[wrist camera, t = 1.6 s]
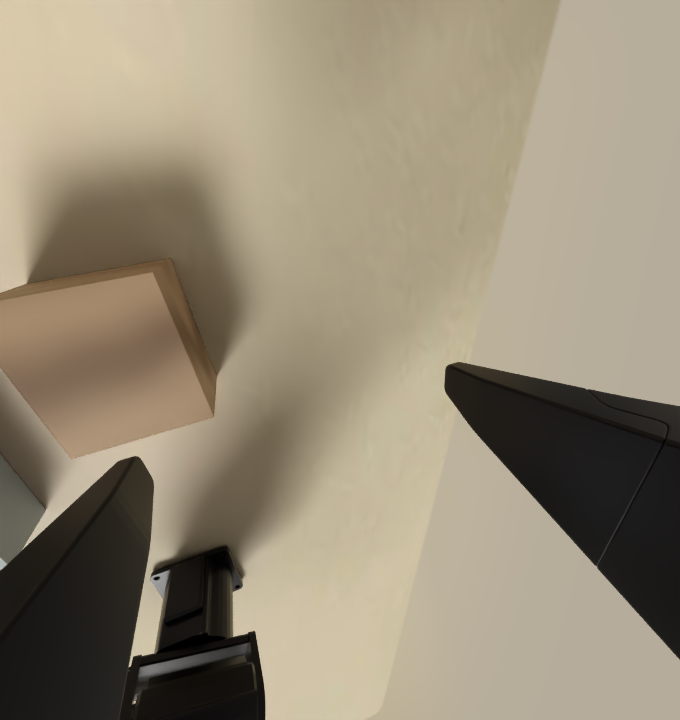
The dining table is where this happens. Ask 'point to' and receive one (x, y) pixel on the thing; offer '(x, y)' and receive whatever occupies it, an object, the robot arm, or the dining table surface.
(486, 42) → the dining table surface
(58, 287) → the walnut block
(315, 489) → the dining table surface
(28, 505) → the blue-grey block
